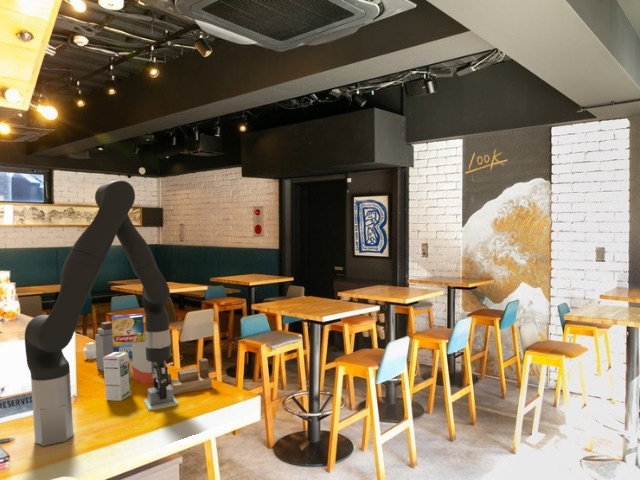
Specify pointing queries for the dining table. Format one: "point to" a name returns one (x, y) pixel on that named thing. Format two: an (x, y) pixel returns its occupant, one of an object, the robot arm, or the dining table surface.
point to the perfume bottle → (103, 343)
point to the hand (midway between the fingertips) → (160, 394)
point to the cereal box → (126, 334)
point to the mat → (160, 405)
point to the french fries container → (141, 360)
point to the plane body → (191, 379)
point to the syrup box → (117, 376)
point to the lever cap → (154, 396)
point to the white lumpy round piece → (90, 350)
